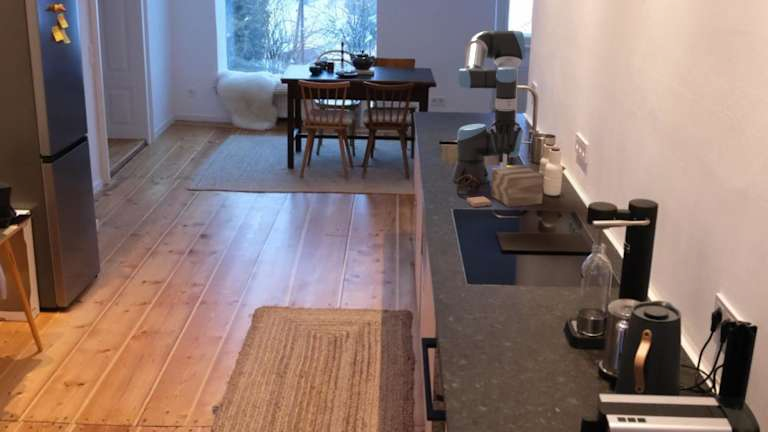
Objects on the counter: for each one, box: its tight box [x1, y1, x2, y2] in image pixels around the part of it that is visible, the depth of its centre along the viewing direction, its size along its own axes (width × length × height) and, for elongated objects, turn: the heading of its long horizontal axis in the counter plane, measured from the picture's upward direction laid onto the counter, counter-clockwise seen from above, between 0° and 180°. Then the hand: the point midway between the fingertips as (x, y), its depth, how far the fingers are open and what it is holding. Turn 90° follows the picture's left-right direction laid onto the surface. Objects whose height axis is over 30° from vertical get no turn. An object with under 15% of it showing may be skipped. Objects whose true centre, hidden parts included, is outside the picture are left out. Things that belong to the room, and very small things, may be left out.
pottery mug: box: [455, 175, 482, 195], centre depth 342 cm, size 12×10×8 cm
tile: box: [466, 195, 492, 208], centre depth 328 cm, size 7×7×2 cm
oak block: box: [490, 164, 544, 207], centre depth 331 cm, size 16×14×11 cm
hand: (503, 170), depth 327 cm, fingers closed
